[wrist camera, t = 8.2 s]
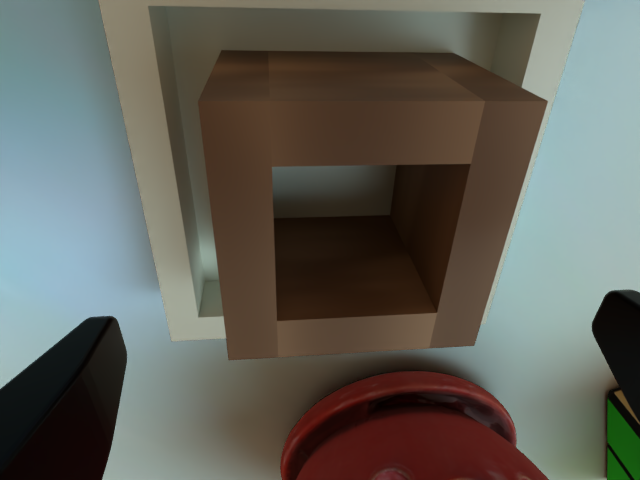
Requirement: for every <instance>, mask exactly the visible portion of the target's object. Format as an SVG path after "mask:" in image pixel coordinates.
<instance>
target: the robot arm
mask: <svg viewBox="0 0 640 480" xmlns="http://www.w3.org/2000/svg"><path fill="white" fill-rule="evenodd" d="M592 332H593V335H594V337H595V339H596V341H597V343H598V345H599V347H600V349H601V351H602V353H603V355H604V357H605V359H606V361H607V363H608V365H609V367H610V369H611V371H612V373H613V375H614V377H615V379H616V381H617V383H618V385H619V387H620V389H621V391H622V393H623V395H624V397H625V399H626V401H627V402H628V404H629V406H630V408H631V410H632V411H633V413H634V415H635V416H636V418H637V420H638V421H639V423H640V293H639V292H637V291H634V290H614V291H610V292H608V293H607V294H606V295H605V297H604V299H603V301H602V303H601V305H600V307H599V309H598V311H597V313H596V315H595V318H594V320H593V322H592ZM126 364H127V351H126V347H125V344H124V340H123V337H122V334H121V330H120V327H119V324H118V321H117V319H116V318H115V317H113V316H100V317H90V318H88V319H86V320H85V321H83V322H82V323H81V324H80V325H78V326H77V327H76V328H75V329H74V330H72V331H71V332H70V333H69V334H67V335H66V336H65V337H64V338H62V339H61V340H60V341H59V342H58V343H56V344H55V345H54V346H53V347H51V348H50V349H49V350H48V351H46V352H45V353H44V354H43V355H42V356H40V357H39V358H38V359H37V360H35V361H34V362H33V363H32V364H30V365H29V366H28V367H27V368H26V369H24V370H23V371H22V372H21V373H19V374H18V375H17V376H16V377H14V378H13V379H12V380H11V381H10V382H8V383H7V384H6V385H5V386H3V387H2V388H1V389H0V480H102V478H103V474H104V471H105V468H106V464H107V461H108V457H109V453H110V450H111V445H112V440H113V435H114V430H115V425H116V419H117V414H118V408H119V403H120V397H121V392H122V386H123V381H124V375H125V369H126Z"/></svg>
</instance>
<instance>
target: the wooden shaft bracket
mask: <svg viewBox="0 0 640 480" xmlns="http://www.w3.org/2000/svg"><path fill="white" fill-rule="evenodd" d="M547 103H548V101H547V100H545V99H543V98H541V97H539V96H537V95H535V94H533V93H531V92H529V91H527V90H525V89H523V88H521V87H520V86H518V85H516V84H514V83H512V82H510V81H508V80H506V79H504V78H502V77H500V76H498V75H496V74H494V73H492V72H490V71H488V70H486V69H484V68H482V67H481V66H479V65H477V64H475V63H473V62H471V61H469V60H467V59H465V58H463V57H461V56H459V55H457V54H455V53H424V52H337V51H250V50H221V52H220V54H219V57H218V59H217V61H216V63H215V65H214V67H213V70H212V72H211V74H210V76H209V78H208V80H207V82H206V85H205V87H204V89H203V91H202V93H201V95H200V98H199V100H198V107H199V115H200V124H201V132H202V140H203V149H204V157H205V166H206V174H207V182H208V191H209V199H210V207H211V216H212V224H213V233H214V241H215V249H216V258H217V266H218V274H219V283H220V291H221V300H222V308H223V316H224V325H225V333H226V341H227V350H228V358H229V360H241V359H258V358H275V357H292V356H309V355H325V354H342V353H359V352H376V351H393V350H409V349H426V348H443V347H460V346H474V344H475V341H476V338H477V335H478V331H479V328H480V325H481V321H482V318H483V315H484V311H485V308H486V305H487V302H488V298H489V295H490V292H491V288H492V285H493V282H494V278H495V275H496V272H497V268H498V265H499V262H500V259H501V255H502V252H503V249H504V245H505V242H506V239H507V235H508V232H509V229H510V226H511V222H512V219H513V216H514V212H515V209H516V206H517V202H518V199H519V196H520V193H521V189H522V186H523V183H524V179H525V176H526V173H527V169H528V166H529V163H530V159H531V156H532V153H533V150H534V146H535V143H536V140H537V136H538V133H539V130H540V126H541V123H542V120H543V117H544V113H545V110H546V107H547ZM359 165H396V173H395V180H394V188H393V196H392V203H391V211H390V215H375V216H338V217H302V218H274V214H273V183H272V167H294V166H359Z"/></svg>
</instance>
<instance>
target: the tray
mask: <svg viewBox="0 0 640 480" xmlns="http://www.w3.org/2000/svg"><path fill="white" fill-rule="evenodd" d="M98 1H99V6H100V10H101V15H102V20H103V24H104V29H105V34H106V38H107V43H108V48H109V52H110V57H111V62H112V66H113V71H114V76H115V80H116V85H117V90H118V94H119V99H120V104H121V108H122V113H123V118H124V122H125V127H126V132H127V136H128V141H129V146H130V150H131V155H132V160H133V164H134V169H135V174H136V178H137V183H138V188H139V192H140V197H141V202H142V206H143V211H144V216H145V220H146V225H147V230H148V234H149V239H150V244H151V248H152V253H153V258H154V262H155V267H156V272H157V276H158V281H159V286H160V290H161V295H162V300H163V304H164V309H165V314H166V318H167V323H168V328H169V332H170V337H171V341H188V340H206V339H224V338H226V333H225V325H224V316H223V308H222V300H221V291H220V283H219V274H218V266H217V258H216V249H215V241H214V233H213V224H212V216H211V207H210V199H209V191H208V182H207V174H206V166H205V157H204V149H203V140H202V132H201V124H200V115H199V107H198V100H199V98H200V95H201V93H202V91H203V89H204V87H205V85H206V82H207V80H208V78H209V76H210V74H211V72H212V70H213V67H214V65H215V63H216V61H217V59H218V57H219V54H220V52H221V50H250V51H337V52H424V53H455V54H457V55H459V56H461V57H463V58H465V59H467V60H469V61H471V62H473V63H475V64H477V65H479V66H481V67H482V68H484V69H486V70H488V71H490V72H492V73H494V74H496V75H498V76H500V77H502V78H504V79H506V80H508V81H510V82H512V83H514V84H516V85H518V86H520V87H521V88H523V89H525V90H527V91H529V92H531V93H533V94H535V95H537V96H539V97H541V98H543V99H545V100H547V101H548V103H547V107H546V110H545V113H544V117H543V120H542V123H541V126H540V130H539V133H538V136H537V140H536V143H535V146H534V150H533V153H532V156H531V159H530V163H529V166H528V169H527V173H526V176H525V179H524V183H523V186H522V189H521V193H520V196H519V199H518V202H517V206H516V209H515V212H514V216H513V219H512V222H511V226H510V229H509V232H508V235H507V239H506V242H505V245H504V249H503V252H502V255H501V259H500V262H499V265H498V268H497V272H496V275H495V278H494V282H493V285H492V288H491V292H490V295H489V298H488V302H487V305H486V308H485V311H484V315H483V318H482V321H481V324H485V323H486V319H487V316H488V313H489V310H490V307H491V303H492V300H493V297H494V294H495V290H496V287H497V284H498V281H499V277H500V274H501V271H502V268H503V264H504V261H505V258H506V255H507V251H508V248H509V245H510V242H511V238H512V235H513V232H514V229H515V226H516V222H517V219H518V216H519V213H520V209H521V206H522V203H523V200H524V196H525V193H526V190H527V187H528V183H529V180H530V177H531V174H532V170H533V167H534V164H535V161H536V157H537V154H538V151H539V148H540V145H541V141H542V138H543V135H544V132H545V128H546V125H547V122H548V119H549V115H550V112H551V109H552V106H553V102H554V99H555V96H556V93H557V89H558V86H559V83H560V80H561V76H562V73H563V70H564V67H565V64H566V60H567V57H568V54H569V51H570V47H571V44H572V41H573V38H574V34H575V31H576V28H577V25H578V21H579V18H580V15H581V12H582V8H583V5H584V2H585V0H98ZM395 173H396V165H359V166H294V167H272V183H273V214H274V218H302V217H338V216H375V215H390V211H391V203H392V196H393V188H394V180H395Z"/></svg>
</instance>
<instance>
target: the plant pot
mask: <svg viewBox="0 0 640 480" xmlns="http://www.w3.org/2000/svg"><path fill="white" fill-rule="evenodd" d="M280 469H281V477H282V480H549V479H548V478H547V477H546V476H545V475H544V474H543V473H542V472H541V471H540V470H539V469H538V468H537V467H536V466H535V465H534V464H533V463H532V462H531V461H530V460H529V459H528V458H527V457H526V456H525V455H524V454H523V453H522V452H520V451H519V450H518V449H517V448H516V430H515V427H514V423H513V421H512V419H511V417H510V415H509V413H508V412H507V410H506V409H505V408H504V406H503V405H502V404H501V403H500V402H499V401H498V400H497V399H496V398H495V397H494V396H493V395H491V394H490V393H489V392H487V391H486V390H485V389H483V388H481V387H480V386H478V385H476V384H474V383H471V382H469V381H467V380H464V379H461V378H458V377H455V376H451V375H447V374H442V373H435V372H427V371H401V372H393V373H385V374H381V375H376V376H372V377H369V378H366V379H363V380H360V381H357V382H354V383H352V384H349V385H347V386H345V387H343V388H341V389H339V390H337V391H335V392H333V393H331V394H330V395H328V396H326V397H325V398H323V399H322V400H320V401H319V402H318V403H317V404H315V405H314V406H313V407H312V408H311V409H310V410H308V411H307V412H306V413H305V414H304V416H303V417H302V418H301V419H300V420H299V421H298V423H297V424H296V425H295V426H294V428H293V429H292V431H291V432H290V434H289V436H288V438H287V440H286V442H285V445H284V448H283V451H282V456H281V466H280Z"/></svg>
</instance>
